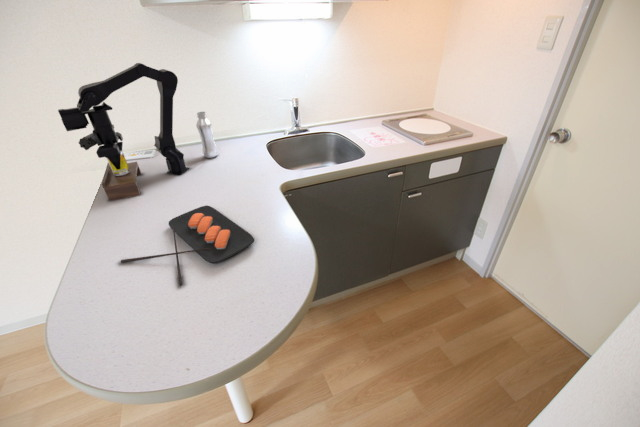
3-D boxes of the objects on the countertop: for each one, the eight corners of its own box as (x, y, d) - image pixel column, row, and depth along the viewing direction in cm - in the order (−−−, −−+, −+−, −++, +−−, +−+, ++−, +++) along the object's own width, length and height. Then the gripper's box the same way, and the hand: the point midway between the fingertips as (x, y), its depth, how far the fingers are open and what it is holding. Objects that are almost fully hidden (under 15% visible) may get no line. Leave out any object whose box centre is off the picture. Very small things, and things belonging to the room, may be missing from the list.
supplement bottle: (132, 173, 118) (122, 147, 112) (116, 178, 114) (105, 151, 109) (127, 168, 121) (117, 143, 115) (112, 173, 118) (100, 148, 112)
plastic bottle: (221, 154, 145) (212, 111, 134) (211, 160, 140) (201, 115, 129) (211, 152, 147) (201, 110, 136) (201, 158, 142) (189, 114, 131)
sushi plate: (259, 245, 88) (257, 234, 86) (151, 306, 70) (146, 294, 68) (208, 208, 105) (206, 198, 103) (112, 250, 88) (106, 239, 86)
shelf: (114, 178, 126) (107, 162, 123) (141, 173, 130) (135, 158, 126) (109, 201, 111) (101, 183, 107) (140, 194, 114) (133, 177, 111)
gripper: (79, 121, 112) (98, 161, 120) (69, 136, 98) (90, 180, 106) (114, 116, 116) (129, 155, 124) (109, 130, 101) (126, 174, 110)
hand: (119, 166), depth 116 cm, fingers closed on supplement bottle, 5 cm apart
